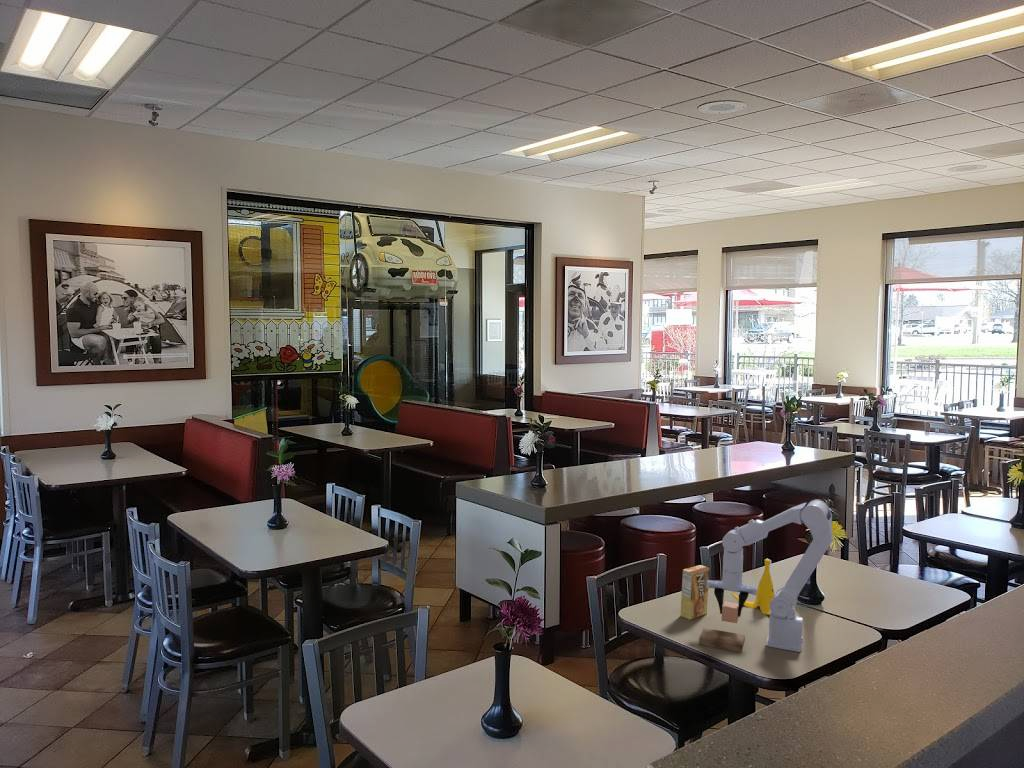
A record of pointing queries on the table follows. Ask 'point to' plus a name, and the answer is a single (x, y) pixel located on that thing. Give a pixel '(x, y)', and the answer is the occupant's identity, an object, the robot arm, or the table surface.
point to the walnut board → (722, 639)
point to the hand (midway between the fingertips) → (730, 614)
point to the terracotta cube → (730, 612)
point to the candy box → (694, 592)
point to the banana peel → (762, 592)
